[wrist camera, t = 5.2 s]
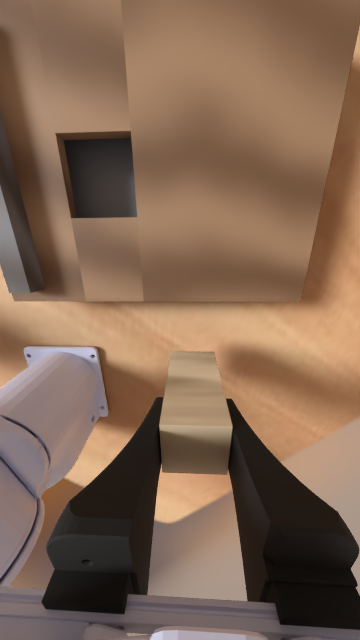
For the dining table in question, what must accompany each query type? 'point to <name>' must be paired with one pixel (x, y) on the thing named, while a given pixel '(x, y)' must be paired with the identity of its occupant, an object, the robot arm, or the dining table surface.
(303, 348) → the dining table surface
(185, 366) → the block
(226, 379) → the dining table surface
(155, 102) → the lid
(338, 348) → the dining table surface
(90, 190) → the shallow grey box
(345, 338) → the dining table surface
